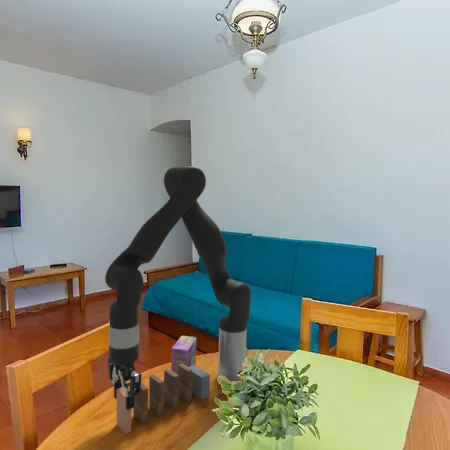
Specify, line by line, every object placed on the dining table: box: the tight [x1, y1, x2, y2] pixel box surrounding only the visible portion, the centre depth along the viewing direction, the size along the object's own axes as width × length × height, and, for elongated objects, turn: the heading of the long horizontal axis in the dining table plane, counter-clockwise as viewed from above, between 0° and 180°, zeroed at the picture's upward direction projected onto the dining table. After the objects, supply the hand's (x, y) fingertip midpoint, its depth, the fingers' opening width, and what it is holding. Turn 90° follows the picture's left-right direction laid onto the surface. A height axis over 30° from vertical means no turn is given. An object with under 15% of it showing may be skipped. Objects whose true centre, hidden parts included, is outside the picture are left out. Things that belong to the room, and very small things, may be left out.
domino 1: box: [133, 381, 149, 426], centre depth 97 cm, size 2×5×10 cm, turn 44°
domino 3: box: [163, 368, 179, 411], centre depth 104 cm, size 2×5×10 cm, turn 44°
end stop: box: [189, 365, 211, 401], centre depth 111 cm, size 3×8×7 cm, turn 44°
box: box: [170, 335, 197, 374], centre depth 121 cm, size 10×6×12 cm, turn 168°
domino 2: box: [148, 374, 165, 418], centre depth 101 cm, size 2×5×10 cm, turn 44°
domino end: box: [116, 387, 132, 435], centre depth 94 cm, size 2×5×10 cm, turn 43°
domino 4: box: [178, 363, 193, 404], centre depth 108 cm, size 2×5×10 cm, turn 44°
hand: (124, 402), depth 94 cm, fingers open, 6 cm apart
